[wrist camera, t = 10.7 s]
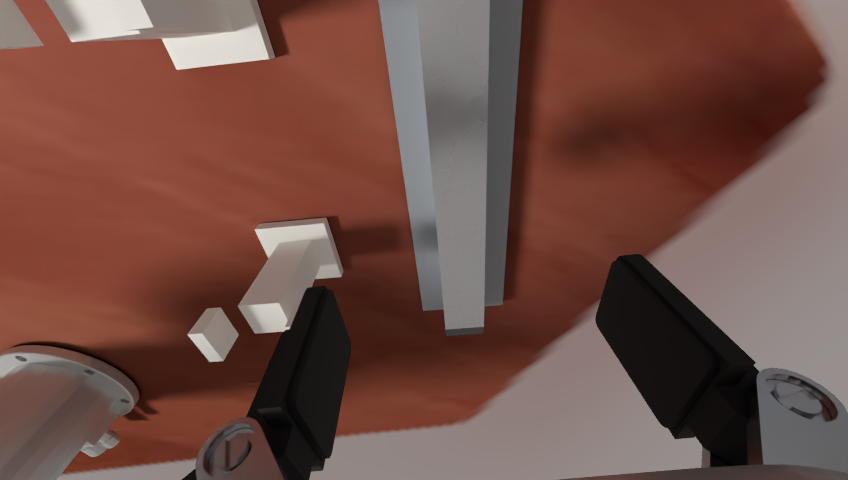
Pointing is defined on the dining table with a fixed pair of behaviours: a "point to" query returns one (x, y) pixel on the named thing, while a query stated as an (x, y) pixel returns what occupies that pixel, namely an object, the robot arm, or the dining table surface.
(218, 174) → the dining table surface
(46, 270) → the dining table surface
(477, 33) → the steel rail
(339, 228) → the dining table surface
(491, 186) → the mat
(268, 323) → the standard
